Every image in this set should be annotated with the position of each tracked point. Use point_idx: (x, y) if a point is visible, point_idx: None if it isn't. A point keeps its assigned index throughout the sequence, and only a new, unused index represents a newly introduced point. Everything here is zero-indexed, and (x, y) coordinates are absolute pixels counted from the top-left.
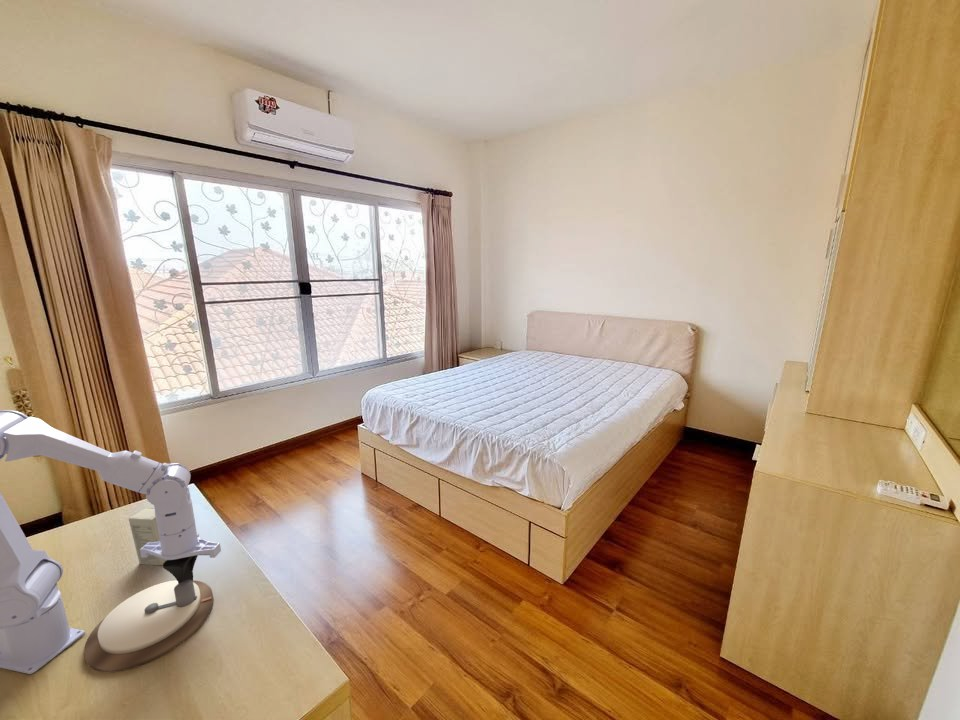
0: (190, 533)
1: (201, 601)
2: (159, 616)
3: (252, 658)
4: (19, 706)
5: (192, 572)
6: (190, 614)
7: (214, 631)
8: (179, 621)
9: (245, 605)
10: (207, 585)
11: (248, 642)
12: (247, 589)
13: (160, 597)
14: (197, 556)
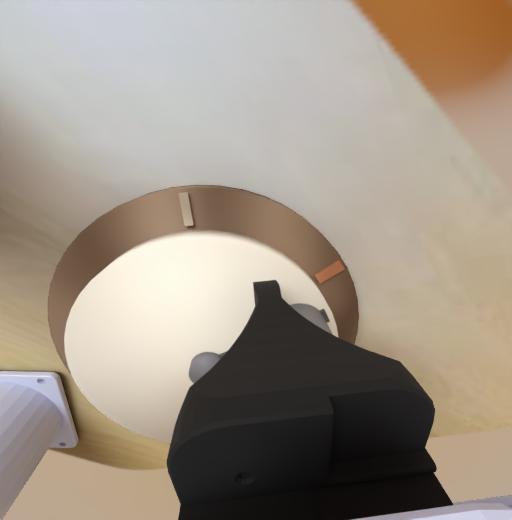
0: None
1: (314, 278)
2: None
3: (503, 368)
4: (138, 467)
5: (281, 296)
6: None
7: (392, 330)
8: None
9: (443, 252)
10: (284, 209)
11: (485, 343)
12: (426, 188)
13: (186, 325)
14: (349, 343)
